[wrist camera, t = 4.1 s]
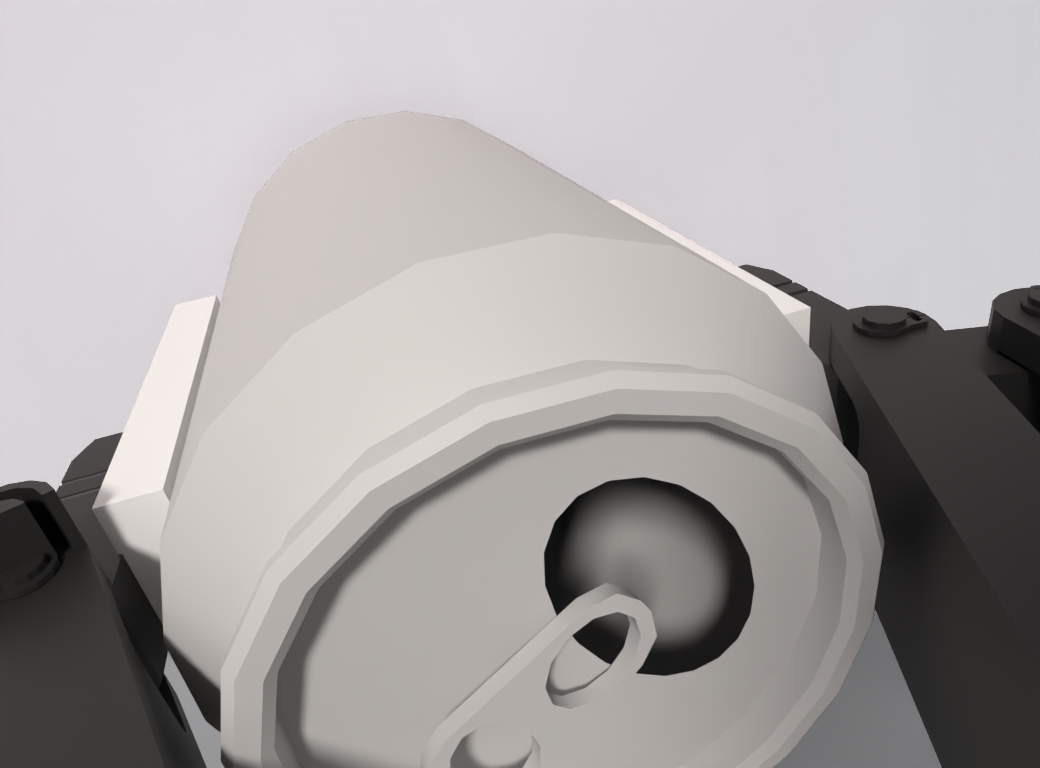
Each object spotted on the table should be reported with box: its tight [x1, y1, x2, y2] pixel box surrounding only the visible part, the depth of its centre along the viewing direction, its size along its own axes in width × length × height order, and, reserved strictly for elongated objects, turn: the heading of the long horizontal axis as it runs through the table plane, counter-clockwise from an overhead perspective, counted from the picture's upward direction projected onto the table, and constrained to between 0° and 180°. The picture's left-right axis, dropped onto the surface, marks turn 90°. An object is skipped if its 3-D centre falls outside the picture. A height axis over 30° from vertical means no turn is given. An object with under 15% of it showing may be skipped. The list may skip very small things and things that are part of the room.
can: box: [160, 111, 885, 768], centre depth 11 cm, size 8×8×12 cm
